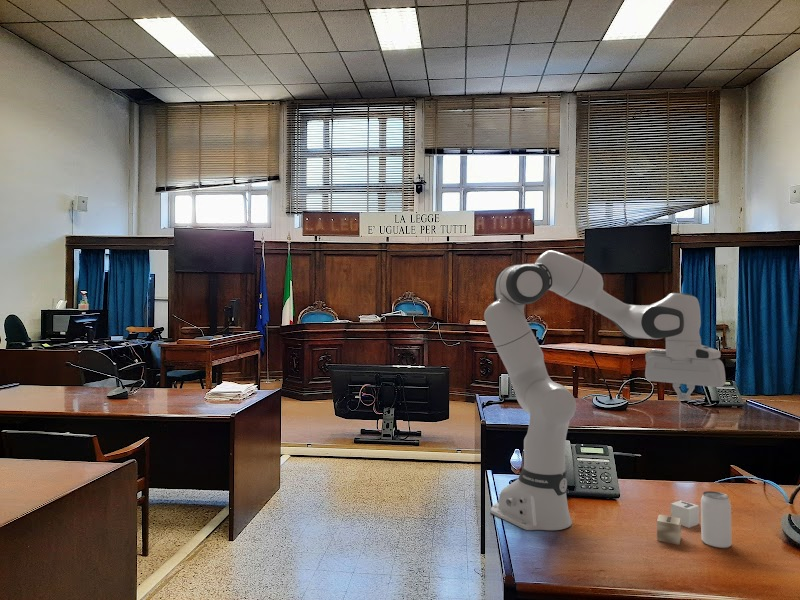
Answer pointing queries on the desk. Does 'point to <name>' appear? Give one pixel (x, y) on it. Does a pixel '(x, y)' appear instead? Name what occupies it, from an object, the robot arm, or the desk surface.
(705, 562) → the desk surface
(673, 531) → the birch block
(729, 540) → the can
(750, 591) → the desk surface
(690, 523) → the white block
